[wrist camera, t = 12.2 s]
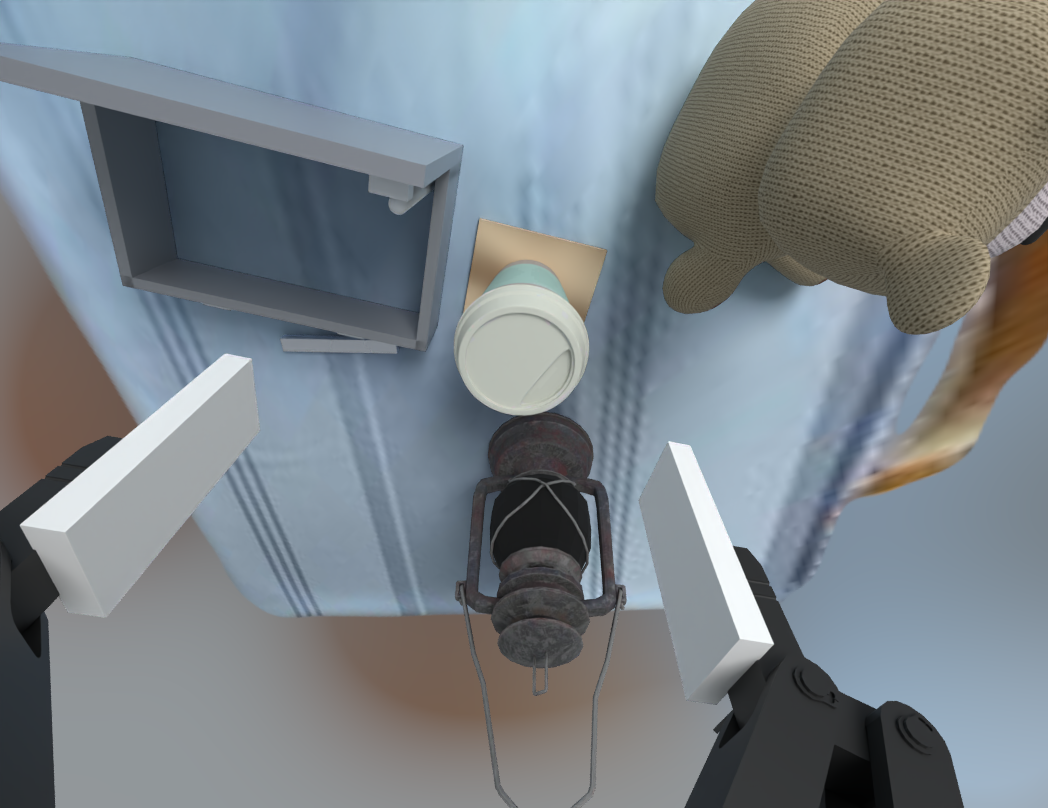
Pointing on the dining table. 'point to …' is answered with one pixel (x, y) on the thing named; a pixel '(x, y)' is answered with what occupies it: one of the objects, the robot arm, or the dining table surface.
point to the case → (254, 118)
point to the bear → (862, 151)
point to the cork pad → (512, 244)
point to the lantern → (540, 554)
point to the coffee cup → (521, 342)
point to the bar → (334, 344)
